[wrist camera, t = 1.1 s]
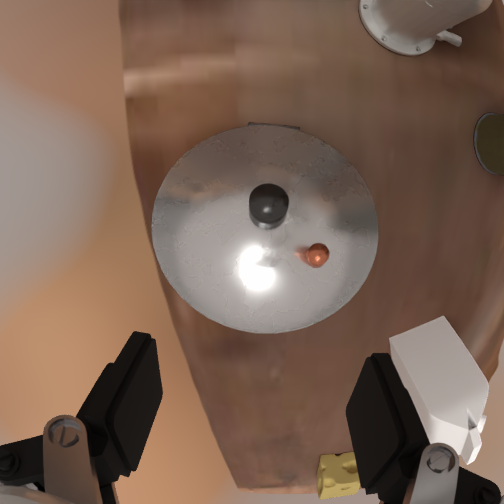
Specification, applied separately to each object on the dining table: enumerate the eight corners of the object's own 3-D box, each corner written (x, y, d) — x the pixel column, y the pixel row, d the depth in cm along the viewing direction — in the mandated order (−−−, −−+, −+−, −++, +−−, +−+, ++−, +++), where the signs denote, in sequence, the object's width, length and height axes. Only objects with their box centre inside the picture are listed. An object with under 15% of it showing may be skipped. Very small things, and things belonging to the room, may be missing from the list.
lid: (364, 141, 29) (373, 123, 26) (375, 339, 22) (391, 336, 19) (181, 124, 29) (176, 104, 26) (136, 317, 23) (122, 312, 20)
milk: (389, 338, 49) (443, 455, 24) (443, 315, 47) (515, 414, 23) (394, 380, 53) (434, 486, 28) (443, 359, 51) (496, 453, 26)
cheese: (319, 454, 63) (323, 486, 53) (360, 449, 62) (367, 479, 53) (315, 471, 66) (317, 500, 57) (352, 467, 66) (357, 495, 56)
